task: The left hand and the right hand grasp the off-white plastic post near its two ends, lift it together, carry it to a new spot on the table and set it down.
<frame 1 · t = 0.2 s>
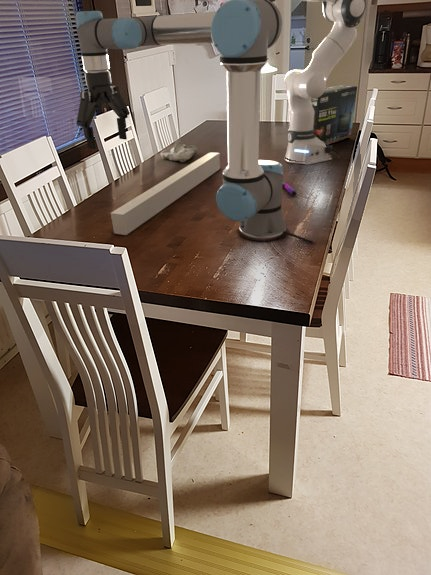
left hand: (108, 143, 148), 27 cm above the table, tool pointing down, fingers open, 13 cm apart
right hand: (238, 52, 188), 47 cm above the table, tool pointing down, fingers open, 8 cm apart
fossil: (178, 158, 230), on the table
post: (175, 195, 182), on the table
router box: (325, 143, 245), on the table
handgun: (279, 188, 186), on the table
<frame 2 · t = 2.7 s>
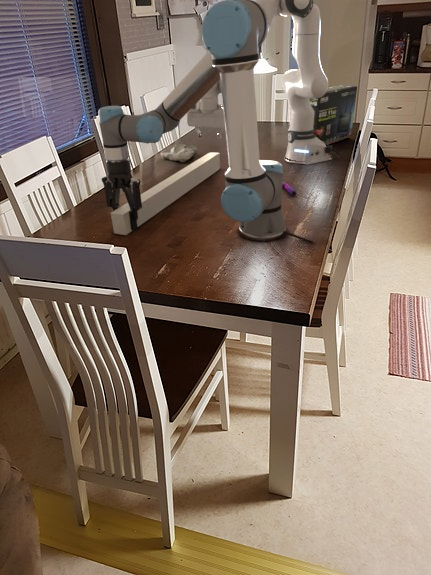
left hand: (127, 227, 156), 1 cm above the table, tool pointing down, fingers closed on post, 5 cm apart
right hand: (209, 137, 201), 15 cm above the table, tool pointing down, fingers open, 8 cm apart
post: (175, 195, 182), on the table, touching left hand
everything else where it was.
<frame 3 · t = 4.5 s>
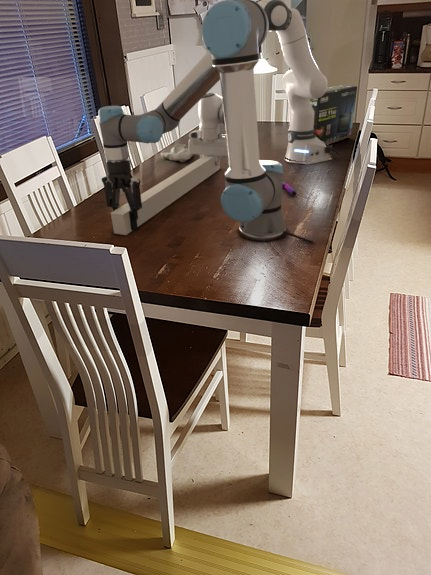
left hand: (127, 227, 156), 1 cm above the table, tool pointing down, fingers closed on post, 5 cm apart
right hand: (210, 164, 207), 3 cm above the table, tool pointing down, fingers closed on post, 5 cm apart
post: (175, 195, 182), on the table, touching left hand, right hand
everything else where it was.
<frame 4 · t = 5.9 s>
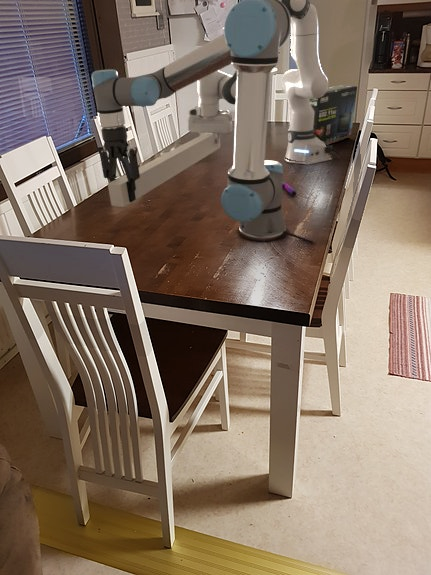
left hand: (125, 199, 150), 10 cm above the table, tool pointing down, fingers closed on post, 5 cm apart
right hand: (211, 143, 202), 13 cm above the table, tool pointing down, fingers closed on post, 5 cm apart
post: (175, 171, 177), point 10 cm above the table, touching left hand, right hand
everything else where it was.
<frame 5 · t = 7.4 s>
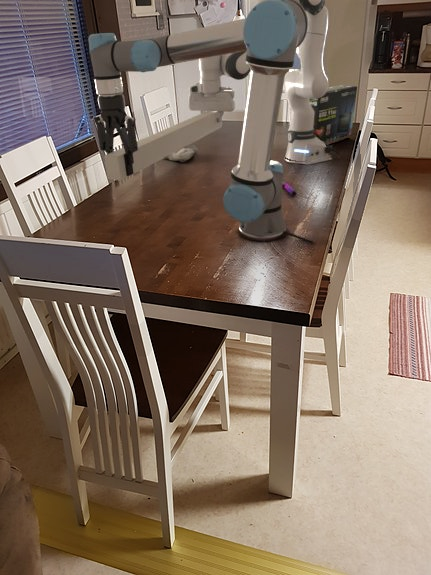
left hand: (122, 173, 144), 20 cm above the table, tool pointing down, fingers closed on post, 5 cm apart
right hand: (212, 121, 196), 22 cm above the table, tool pointing down, fingers closed on post, 5 cm apart
post: (174, 148, 171), point 19 cm above the table, touching left hand, right hand
everything else where it was.
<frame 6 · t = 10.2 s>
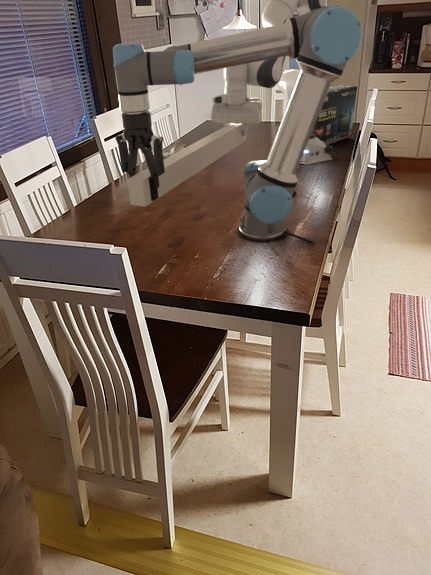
left hand: (146, 198, 129), 18 cm above the table, tool pointing down, fingers closed on post, 5 cm apart
right hand: (236, 134, 181), 20 cm above the table, tool pointing down, fingers closed on post, 5 cm apart
post: (199, 166, 156), point 17 cm above the table, touching left hand, right hand
everything else where it was.
when the left hand's fingers open (2 cm above the table, at t = 12.4 s): post stays where it is, on the table.
when the right hand's fingers open (4 cm above the table, at t = 12.6 s): post stays where it is, on the table.
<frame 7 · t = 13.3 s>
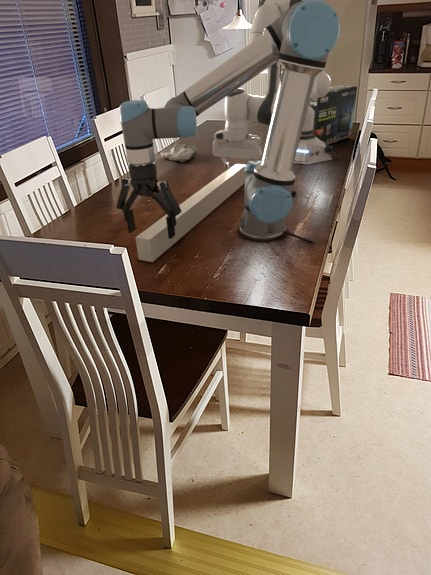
left hand: (151, 234, 135), 7 cm above the table, tool pointing down, fingers open, 13 cm apart
right hand: (237, 168, 188), 7 cm above the table, tool pointing down, fingers open, 8 cm apart
post: (202, 213, 165), on the table
everything else where it was.
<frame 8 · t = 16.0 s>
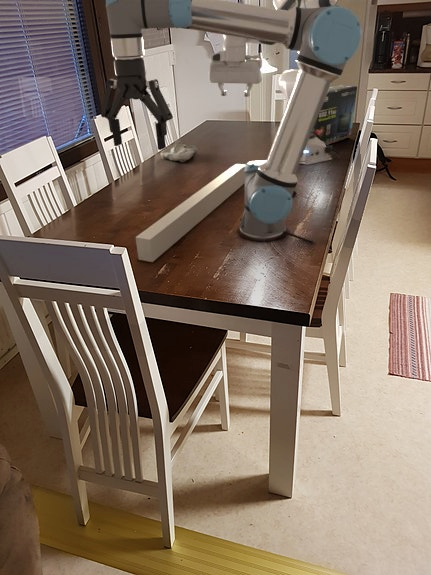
left hand: (139, 146, 122), 32 cm above the table, tool pointing down, fingers open, 13 cm apart
right hand: (235, 96, 174), 35 cm above the table, tool pointing down, fingers open, 8 cm apart
nothing on the table moved.
at the end: post inside the target area (0.3 cm from its centre), on the table; post tilted 0°; post never tilted more than 2° during the clip; both hands held the post at the same time; the left hand is holding nothing; the right hand is holding nothing; post at rest at the end (0.0 cm/s) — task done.
